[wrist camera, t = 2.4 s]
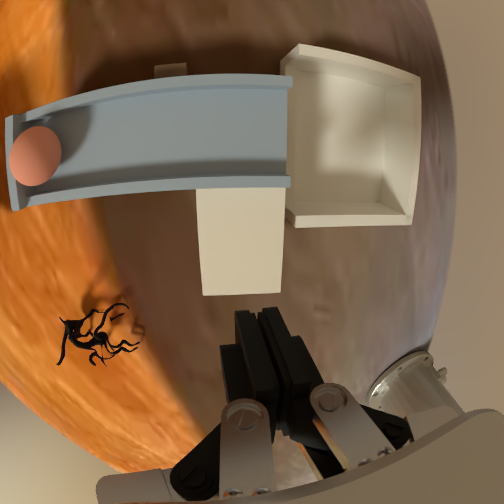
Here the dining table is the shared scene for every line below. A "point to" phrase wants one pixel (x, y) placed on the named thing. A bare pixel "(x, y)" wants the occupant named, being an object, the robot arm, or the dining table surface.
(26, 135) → the ball
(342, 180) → the tray
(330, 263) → the dining table surface
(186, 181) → the lever
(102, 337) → the creature
